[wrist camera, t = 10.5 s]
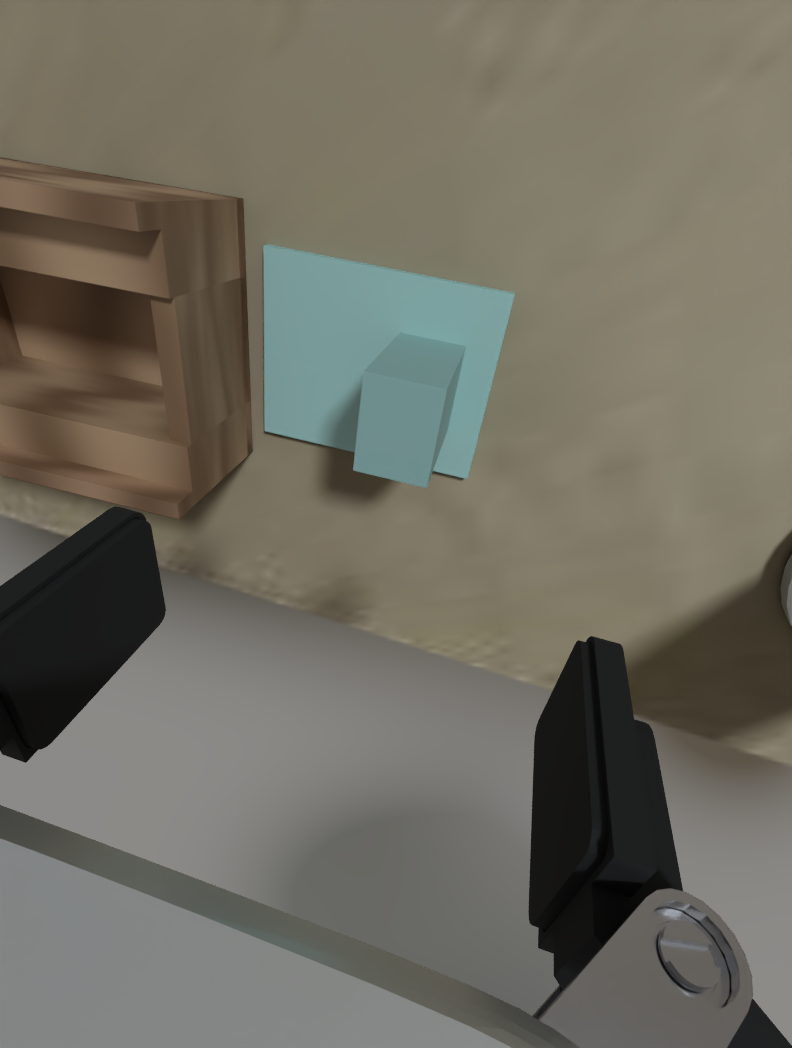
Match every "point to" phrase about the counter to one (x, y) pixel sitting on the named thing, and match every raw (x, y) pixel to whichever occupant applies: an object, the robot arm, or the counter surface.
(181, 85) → the counter surface
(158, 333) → the walnut box
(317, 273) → the cover plate
